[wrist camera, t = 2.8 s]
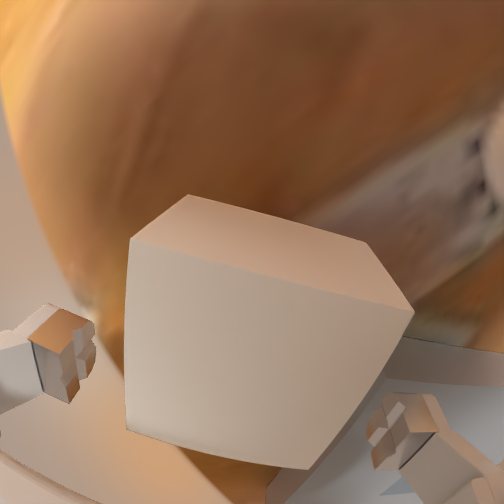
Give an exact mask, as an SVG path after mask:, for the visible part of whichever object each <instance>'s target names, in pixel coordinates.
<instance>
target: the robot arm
mask: <svg viewBox="0 0 504 504" xmlns="http://www.w3.org/2000/svg"><path fill="white" fill-rule="evenodd" d="M94 335H95V328H94V323H93V322H92V321H90V320H87V319H85V318H83V317H80V316H78V315H76V314H73V313H71V312H69V311H66V310H64V309H61V308H59V307H57V306H54V305H52V304H50V303H45V304H43V305H42V306H41V307H40V308H38V309H37V310H36V311H35V312H34V313H33V314H31V315H30V316H29V317H28V318H27V319H26V320H25V321H24V322H22V323H21V324H20V325H19V326H18V327H17V328H16V329H15V330H14V331H10V330H5V331H0V414H2V413H4V412H6V411H8V410H10V409H12V408H15V407H17V406H18V405H21V404H23V403H25V402H27V401H29V400H31V399H33V398H35V397H37V396H40V395H42V394H43V392H45V393H47V394H49V395H51V396H53V397H55V398H57V399H59V400H61V401H64V402H66V403H68V404H69V403H70V402H71V401H72V399H73V398H74V396H75V395H76V393H77V392H78V390H79V389H80V385H79V380H82V379H84V378H87V377H88V375H89V374H90V372H91V371H92V368H93V365H94V363H95V357H96V346H95V345H94V343H93V342H92V340H91V339H92V337H93V336H94ZM381 402H382V407H380V408H378V409H377V410H375V411H374V412H373V413H372V415H371V416H370V418H369V420H368V424H367V427H366V435H367V439H368V441H369V442H370V443H371V444H372V446H373V449H372V451H371V457H372V461H373V466H374V470H399V471H398V472H399V473H400V474H401V475H402V477H403V478H404V479H405V480H406V482H407V483H408V484H409V485H410V487H411V488H412V489H413V490H414V492H415V493H416V494H417V495H418V497H419V498H420V499H421V500H422V502H423V503H424V504H504V472H503V470H502V469H500V468H499V467H498V466H497V465H496V464H494V463H493V462H492V461H491V460H489V459H488V458H487V457H486V456H485V455H483V454H482V453H481V452H480V451H478V450H477V449H476V448H475V447H474V446H472V445H471V444H470V443H469V442H468V441H466V440H465V439H464V438H463V437H461V436H460V435H459V434H458V433H457V432H452V430H451V428H450V426H449V424H448V422H447V420H446V418H445V416H444V413H443V411H442V409H441V407H440V405H439V403H438V401H437V399H436V397H435V396H434V395H432V394H423V393H418V394H416V393H403V392H391V391H390V392H389V393H387V394H386V395H385V396H384V398H383V399H382V400H381ZM0 437H1V433H0ZM0 504H101V503H99V502H96V501H94V500H91V499H89V498H87V497H85V496H83V495H81V494H78V493H76V492H74V491H72V490H70V489H68V488H66V487H64V486H62V485H60V484H58V483H56V482H54V481H52V480H51V479H49V478H47V477H45V476H43V475H41V474H40V473H38V472H36V471H35V470H33V469H31V468H30V467H28V466H26V465H25V464H23V463H22V462H20V461H18V460H17V459H15V458H14V457H12V456H11V455H9V454H8V453H6V452H4V451H3V450H2V449H0Z"/></svg>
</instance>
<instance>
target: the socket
mask: <svg viewBox="0 0 504 504" xmlns="http://www.w3.org/2000/svg"><path fill="white" fill-rule="evenodd" d="M390 391H391V392H403V393H416V394H418V393H423V394H432V395H434V396H435V397H436V399H437V401H438V403H439V405H440V407H441V409H442V411H443V413H444V416H445V418H446V420H447V422H448V424H449V426H450V428H451V430H452V432H457V433H458V434H459V435H460V436H461V437H463V438H464V439H465V440H466V441H468V442H469V443H470V444H471V445H472V446H474V447H475V448H476V449H477V450H478V451H480V452H481V453H482V454H483V455H485V456H486V457H487V458H488V459H489V460H491V461H492V462H493V463H494V464H496V465H498V464H499V463H500V462H501V461H502V460H503V459H504V353H497V352H490V351H484V350H477V349H471V348H464V347H458V346H452V345H446V344H441V343H435V342H429V341H424V340H418V339H413V338H408V337H401V339H400V341H399V342H398V344H397V346H396V348H395V349H394V351H393V353H392V354H391V356H390V358H389V359H388V361H387V363H386V364H385V366H384V368H383V369H382V371H381V372H380V374H379V375H378V377H377V379H376V380H375V382H374V383H373V385H372V386H371V388H370V389H369V391H368V392H367V394H366V395H365V397H364V398H363V400H362V401H361V403H360V404H359V405H358V407H357V408H356V410H355V411H354V412H353V414H352V415H351V417H350V418H349V419H348V421H347V422H346V423H345V425H344V426H343V427H342V429H341V430H340V431H339V433H338V434H337V435H336V437H335V438H334V439H333V440H332V442H331V443H330V444H329V446H328V447H327V448H326V449H325V451H324V452H323V453H322V454H321V455H320V457H319V458H318V459H317V460H316V461H315V463H314V464H313V465H312V466H311V467H310V468H309V470H304V469H294V468H285V467H282V468H281V470H280V471H279V472H278V474H277V475H276V476H275V478H274V479H273V480H272V481H271V483H270V484H269V485H268V487H267V488H266V501H265V504H424V503H423V502H422V500H421V499H420V498H419V497H418V495H417V494H416V493H415V492H414V490H413V489H412V488H411V487H410V485H409V484H408V483H407V482H406V480H405V479H404V478H403V477H402V475H401V474H400V473H399V472H398V471H399V470H374V466H373V461H372V457H371V451H372V449H373V446H372V444H371V443H370V442H369V441H368V439H367V435H366V427H367V424H368V420H369V418H370V416H371V415H372V413H373V412H374V411H375V410H377V409H378V408H380V407H382V402H381V400H382V399H383V398H384V396H385V395H386V394H387V393H389V392H390Z"/></svg>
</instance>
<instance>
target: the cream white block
mask: <svg viewBox="0 0 504 504" xmlns="http://www.w3.org/2000/svg"><path fill="white" fill-rule="evenodd" d="M414 313H415V311H414V310H413V308H412V307H411V305H410V304H409V302H408V301H407V299H406V298H405V296H404V295H403V293H402V292H401V290H400V289H399V288H398V286H397V285H396V283H395V282H394V280H393V279H392V278H391V276H390V275H389V273H388V272H387V270H386V269H385V268H384V266H383V265H382V264H381V262H380V261H379V259H378V258H377V257H376V255H375V254H374V253H373V251H372V250H371V249H370V247H369V246H368V245H367V243H366V242H363V241H359V240H356V239H353V238H349V237H346V236H343V235H339V234H336V233H332V232H329V231H325V230H322V229H318V228H315V227H311V226H308V225H304V224H301V223H297V222H293V221H290V220H286V219H283V218H279V217H275V216H271V215H268V214H264V213H260V212H256V211H253V210H249V209H245V208H241V207H237V206H233V205H230V204H226V203H222V202H218V201H214V200H210V199H206V198H202V197H198V196H193V195H189V194H188V195H186V196H185V197H183V198H182V199H181V200H179V201H178V202H177V203H175V204H174V205H173V206H171V207H170V208H169V209H167V210H166V211H165V212H163V213H162V214H161V215H159V216H158V217H157V218H156V219H154V220H153V221H152V222H150V223H149V224H148V225H147V226H145V227H144V228H143V229H141V230H140V231H139V232H138V233H136V234H135V235H134V236H133V237H131V238H130V245H129V255H128V267H127V281H126V297H125V321H124V386H125V409H126V424H127V430H130V431H133V432H136V433H138V434H141V435H145V436H148V437H150V438H153V439H156V440H160V441H163V442H166V443H169V444H173V445H176V446H180V447H183V448H187V449H191V450H195V451H199V452H203V453H207V454H211V455H216V456H220V457H225V458H230V459H235V460H240V461H245V462H251V463H257V464H263V465H270V466H277V467H285V468H294V469H304V470H309V468H310V467H311V466H312V465H313V464H314V463H315V461H316V460H317V459H318V458H319V457H320V455H321V454H322V453H323V452H324V451H325V449H326V448H327V447H328V446H329V444H330V443H331V442H332V440H333V439H334V438H335V437H336V435H337V434H338V433H339V431H340V430H341V429H342V427H343V426H344V425H345V423H346V422H347V421H348V419H349V418H350V417H351V415H352V414H353V412H354V411H355V410H356V408H357V407H358V405H359V404H360V403H361V401H362V400H363V398H364V397H365V395H366V394H367V392H368V391H369V389H370V388H371V386H372V385H373V383H374V382H375V380H376V379H377V377H378V375H379V374H380V372H381V371H382V369H383V368H384V366H385V364H386V363H387V361H388V359H389V358H390V356H391V354H392V353H393V351H394V349H395V348H396V346H397V344H398V342H399V341H400V339H401V337H402V335H403V333H404V332H405V330H406V328H407V326H408V324H409V322H410V321H411V319H412V317H413V315H414Z"/></svg>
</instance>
